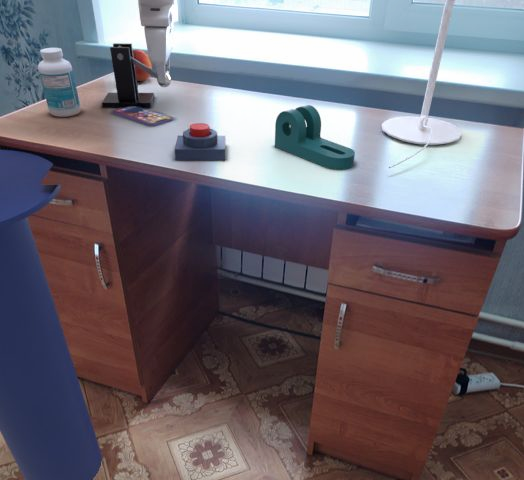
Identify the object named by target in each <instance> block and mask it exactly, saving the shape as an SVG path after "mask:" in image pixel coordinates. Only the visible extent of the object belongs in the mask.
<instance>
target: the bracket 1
mask: <svg viewBox="0 0 524 480" xmlns="http://www.w3.org/2000/svg"><path fill="white" fill-rule="evenodd" d="M119 45H120V46H122V47H118V46H119ZM109 50H110V58H111V62H112V70H113V75H114V81H115V88H116V92H107V94H106V95H105V97H104V98H103V100H102V101H101V108H103V109H106V108H108V109H119V108H123V107H127V106H139V107H142V108H145V109H151V108H152V105H153V103H154V100H155V92H139V89H138V81H137V80H136V72H135V65H134V64H132V63H131V57H133V50H134V49H133V44H132V43H119V42H118V43H112V46H110V47H109ZM133 58H134V57H133Z"/></svg>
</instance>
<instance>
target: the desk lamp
mask: <svg viewBox="0 0 524 480" xmlns="http://www.w3.org/2000/svg"><path fill="white" fill-rule="evenodd" d="M455 1H456V0H445V3H444V7H443V10H442V14H441V19H440V24H439V27H438V28H439V29H438V32H437V33H438V34H437V38H436V42H435V47H434V52H433V57H432V61H431V66H430V71H429V75H428V80H427V85H426V89H425V94H424V97H423V103H422V107H421V113H420V116H416V115H415V116H413V115H407V116H396V117H391V118H388V119H386V120H385V121H383V123H381V130H382V131H383V132H384V133H385V134H387V135H388V137H392V138H394V139H396V140H398V141H401V142H403V143H408V144H414V145H421V146H423V147H421V148H420V149H419V150H417V151H416V152H414V153H413V154H412V155H410V156H408V157H406V158H404V159H402V160H401V161H398V162H397V163H394V164H392V165H390V166H388V169H391V168H394V167H395V166H398V165H400V164H402V163H404V162H406V161H408V160H410V159H411V158H413V157H415V156H416V155H417V154H420V153H421V152H422V151H423V150H424V149H425V148H427V147H428V146H438V145H445V144H451V143H453V142H456V141H459V140H460V139H461V137H462V136H463V132H462V130H461V128H460V127H458V126H456V125H455V124H453V123H452V122H448V121H445V120H442V119H438V118H432V117H429V114H430V110H431V105H432V100H433V98H434V97H433V96H434V93H435V92H434V91H435V87H436V84H437V83H436V82H437V79H438V74H439V70H440V65H441V62H442V61H441V60H442V57H443V52H444V48H445V44H446V38H447V34H448V30H449V26H450V22H451V18H452V12H453V8H454V5H455Z"/></svg>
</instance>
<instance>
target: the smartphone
mask: <svg viewBox="0 0 524 480" xmlns="http://www.w3.org/2000/svg"><path fill="white" fill-rule="evenodd" d="M112 114H113V115H115V116H118V117H121V118H123V119H126V120H130V121H133V122H136V123H139V124H142V125H145V126H148V127H156V126H159V125H163V124H166V123H169V122H172V121H173V120H174V117H173V116H171V115H168V114H164V113H162V112H161V113H160V112H159V111H154V110H151V109H149V108H142V107H139V106H127V107H123V108H114V109H112Z"/></svg>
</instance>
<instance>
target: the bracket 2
mask: <svg viewBox="0 0 524 480" xmlns="http://www.w3.org/2000/svg"><path fill="white" fill-rule="evenodd" d="M274 125H275V127H274V129H275V130H274V148H276V149H279V150H282V151H284V152H287V153H289V154H292V155H294V156H296V157H299V158H302V159H304V160H307V161H309V162H312V163H314V164H316V165H319V166H321V167H324V168H326V169H331V170H338V171H339V170H341V171H342V170H348V169H350V168H352V167H353V166H354V161H355V157H356V156H355V155H356V152H355V150H353V149H352V148H350V147H348V146H345V145H342V144H339V143H337V142H334V141H331V140H328V139H325V138H323V137H321V133H322V118H321V116H320V113H319V111H318V110H317V109H316V107H314V106H313V105H311V104H305V105H301V106H298V107H295V108H290V109H286V110H284V111H283V110H282V111H281V112H280V113H278V115H277V117H276V119H275V123H274Z"/></svg>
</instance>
